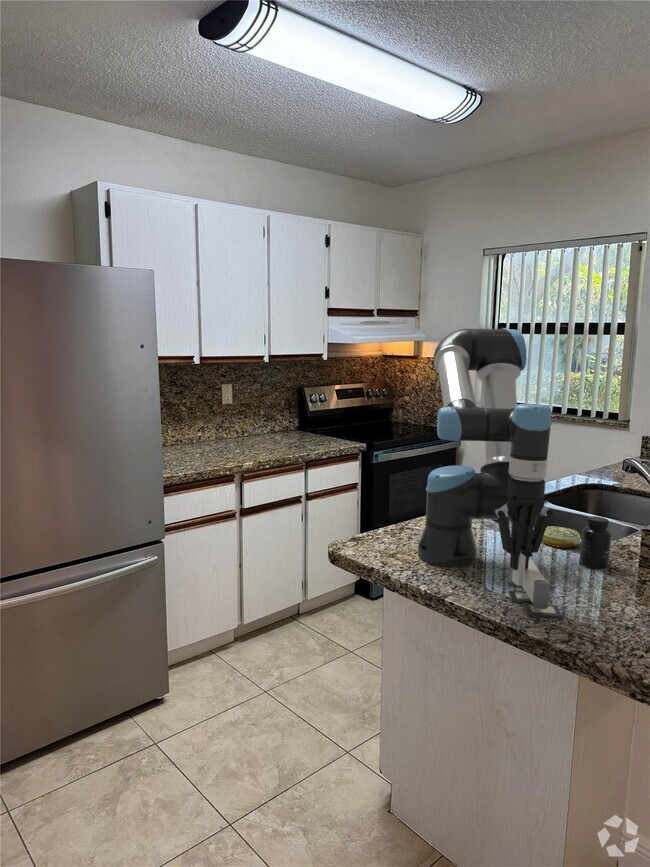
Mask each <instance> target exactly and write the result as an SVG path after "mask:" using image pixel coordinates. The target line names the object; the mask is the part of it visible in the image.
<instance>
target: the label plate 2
mask: <svg viewBox="0 0 650 867" xmlns="http://www.w3.org/2000/svg"><path fill="white" fill-rule="evenodd" d="M522 607H523V610H524V612H525V615H526V617H528V618H529V617H530V618H531V617H532V618H540V619H555V620H557V619H558V620H564V619H563V618H564V617H563V615H562V612H561V610H560V609H559V606H558V605H557V604H556V605H555V604H548V608H547V609H538V608H535V607H534V606H533V604H530V603H522Z"/></svg>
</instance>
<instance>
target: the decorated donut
mask: <svg viewBox="0 0 650 867" xmlns="http://www.w3.org/2000/svg"><path fill="white" fill-rule="evenodd" d="M581 538H582V535H581V534H580V533H579V532H578V531H577V530H575V529H572V528H567V527H564V526H563V527H562V526H555V525H554V526H553V525H551V526H548V525H547V527H546V530H545V533H544V536H543V539H542V543H544V544H545V543H547V544H550V545H554V546H553V547H556V546H559V547H558V548H560V547H561V548H563V547H566V548H572V547H576V546H578V545H579V544H580V543H581ZM547 544H546V545H547ZM550 545H549V546H550Z"/></svg>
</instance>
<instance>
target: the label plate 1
mask: <svg viewBox="0 0 650 867" xmlns="http://www.w3.org/2000/svg"><path fill="white" fill-rule="evenodd" d="M508 595H509V598H510V600H511V603H512V604H523V603H530V604H533V603H532V601H531V600H530V598H529V596H528V595H527V593H526V592H525V590H524V591H523V590H508Z"/></svg>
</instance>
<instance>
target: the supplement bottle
mask: <svg viewBox="0 0 650 867" xmlns="http://www.w3.org/2000/svg"><path fill="white" fill-rule="evenodd" d="M609 522H610V521H609V519H608V518H605V517H603V516H596V515H594V516H588V517H587V522H586V526H585V527H584V528H583V529H582V532H581V538H580V549H579V550H580V552H579V563H580V564H581V565H582V566H583V567H585V568H589V569H594V570H605V569H607V568H608V567H609V565H610V556H611V548H612V539H613V538H612V536H613V535H612V532H611V531H610V530H609Z"/></svg>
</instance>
